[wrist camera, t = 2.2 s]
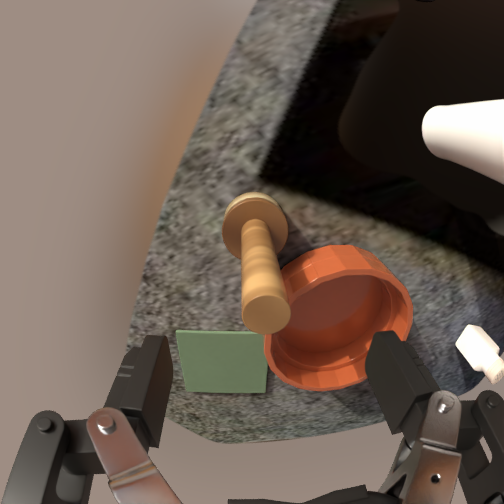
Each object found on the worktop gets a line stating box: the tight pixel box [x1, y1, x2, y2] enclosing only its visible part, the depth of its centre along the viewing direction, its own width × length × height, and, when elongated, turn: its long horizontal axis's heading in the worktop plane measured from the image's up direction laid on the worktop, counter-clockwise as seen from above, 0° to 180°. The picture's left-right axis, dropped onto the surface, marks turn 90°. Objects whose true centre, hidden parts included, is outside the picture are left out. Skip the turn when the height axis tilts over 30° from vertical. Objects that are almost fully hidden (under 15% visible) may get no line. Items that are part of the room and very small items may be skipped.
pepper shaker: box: [456, 325, 504, 384], centre depth 29 cm, size 4×4×10 cm
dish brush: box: [222, 192, 291, 335], centre depth 19 cm, size 5×5×14 cm
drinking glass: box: [422, 99, 504, 184], centre depth 16 cm, size 7×7×15 cm
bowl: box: [262, 245, 413, 391], centre depth 27 cm, size 14×14×6 cm
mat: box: [176, 330, 268, 393], centre depth 32 cm, size 10×10×1 cm
